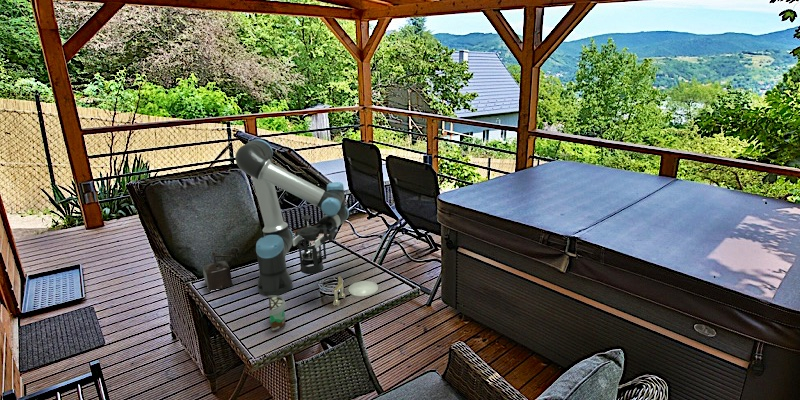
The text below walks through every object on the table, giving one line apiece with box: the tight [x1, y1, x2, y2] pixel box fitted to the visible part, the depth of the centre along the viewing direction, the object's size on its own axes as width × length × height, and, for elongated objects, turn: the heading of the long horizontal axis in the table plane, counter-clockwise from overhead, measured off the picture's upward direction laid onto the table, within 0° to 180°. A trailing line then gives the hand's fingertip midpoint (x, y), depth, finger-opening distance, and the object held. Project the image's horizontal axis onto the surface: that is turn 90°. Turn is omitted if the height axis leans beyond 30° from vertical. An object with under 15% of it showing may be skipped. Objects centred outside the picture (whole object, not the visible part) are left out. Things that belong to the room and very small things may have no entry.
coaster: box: [348, 280, 379, 298], centre depth 198 cm, size 13×13×1 cm
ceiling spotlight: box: [332, 275, 346, 307], centre depth 191 cm, size 4×13×7 cm, turn 179°
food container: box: [267, 295, 287, 333], centre depth 173 cm, size 12×6×10 cm, turn 17°
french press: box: [296, 214, 327, 275], centre depth 181 cm, size 12×9×23 cm
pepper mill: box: [202, 246, 240, 291], centre depth 205 cm, size 16×11×18 cm
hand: (304, 243), depth 177 cm, fingers closed on french press, 9 cm apart
